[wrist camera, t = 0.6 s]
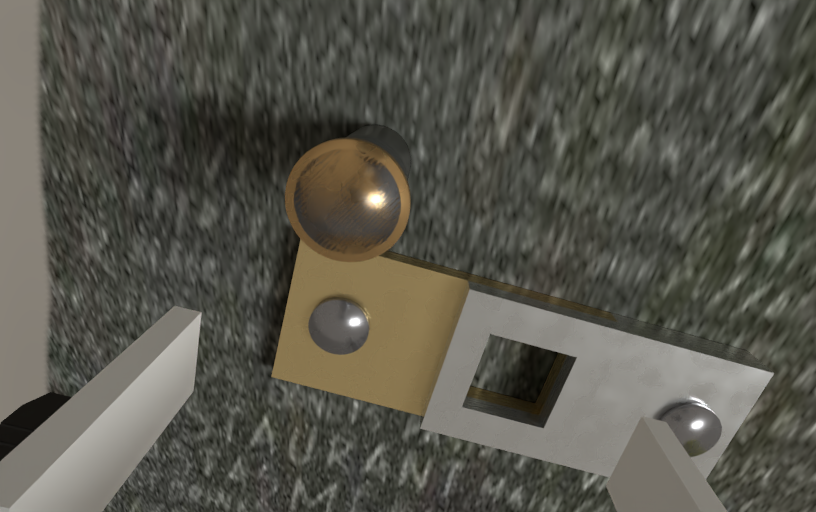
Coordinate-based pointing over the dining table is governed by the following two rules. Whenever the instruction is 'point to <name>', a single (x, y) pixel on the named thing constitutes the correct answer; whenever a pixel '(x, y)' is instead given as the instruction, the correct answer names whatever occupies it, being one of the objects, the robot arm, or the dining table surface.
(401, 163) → the pin
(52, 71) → the dining table surface
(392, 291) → the link
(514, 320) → the link
